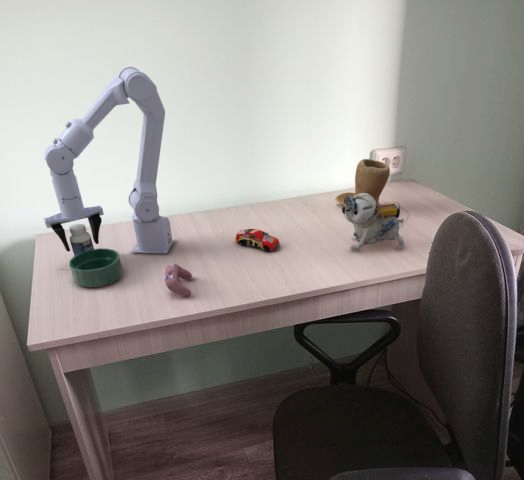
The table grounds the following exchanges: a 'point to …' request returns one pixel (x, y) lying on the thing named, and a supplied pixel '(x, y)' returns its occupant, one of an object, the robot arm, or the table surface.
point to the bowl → (96, 267)
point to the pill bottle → (80, 239)
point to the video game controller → (177, 279)
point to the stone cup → (368, 179)
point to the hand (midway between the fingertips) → (82, 246)
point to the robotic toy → (372, 220)
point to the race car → (257, 239)
